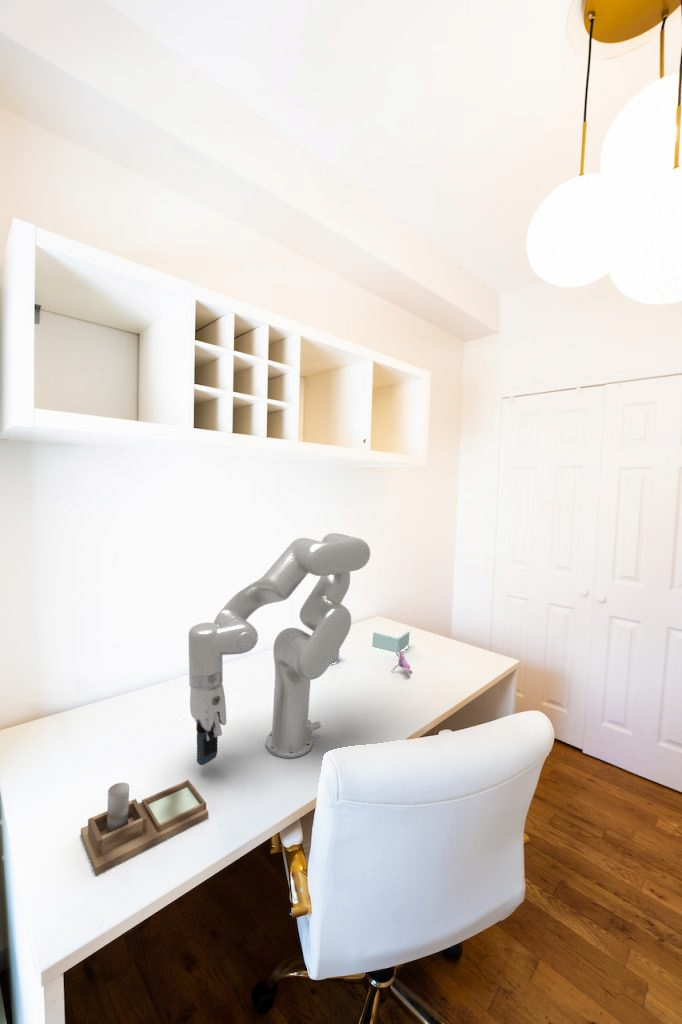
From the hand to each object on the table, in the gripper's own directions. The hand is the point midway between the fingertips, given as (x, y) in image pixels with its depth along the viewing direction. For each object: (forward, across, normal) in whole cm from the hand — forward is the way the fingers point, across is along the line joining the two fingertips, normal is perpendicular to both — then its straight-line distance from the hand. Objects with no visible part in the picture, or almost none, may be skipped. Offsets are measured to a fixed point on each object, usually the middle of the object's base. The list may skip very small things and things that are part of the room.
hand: (207, 749), depth 104 cm
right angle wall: (+12, +26, -98) cm, 102 cm away
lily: (+11, +7, -83) cm, 84 cm away
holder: (+5, -8, +17) cm, 19 cm away
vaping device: (+3, 0, 0) cm, 3 cm away
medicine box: (+10, +32, -67) cm, 75 cm away
